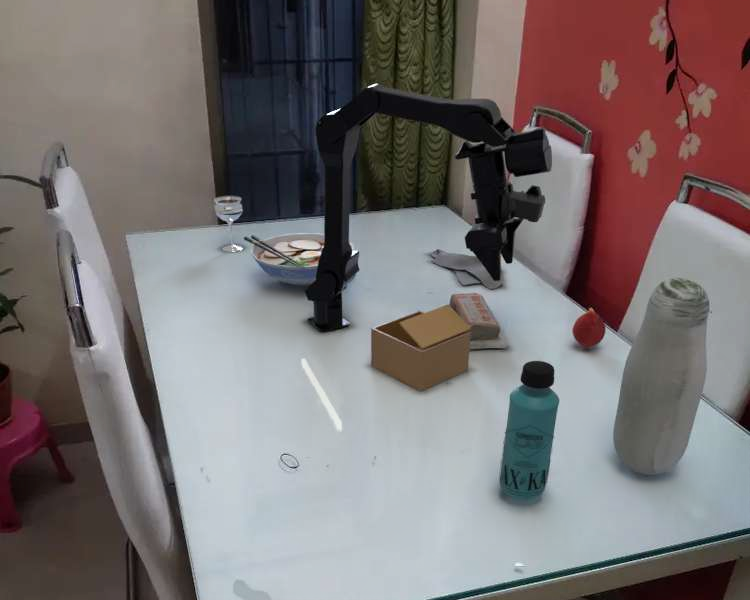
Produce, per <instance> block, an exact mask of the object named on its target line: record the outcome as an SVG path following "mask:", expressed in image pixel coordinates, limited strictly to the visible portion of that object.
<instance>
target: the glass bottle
mask: <svg viewBox="0 0 750 600" xmlns="http://www.w3.org/2000/svg"><path fill="white" fill-rule="evenodd" d="M709 313H710V299H709V296H708V294H707V292H706V290H705V289H704V287H702V286H701V285H700V284H699V283H697V282H694V281H692V280H689V279H686V278H683V277H673V278H669V279H666V280H664V281H662V282H660V283H659V284H657V285H656V287H655V288H654V290H653V291H652V292H651V294H650V297H649V298H648V302H647V305H646V309H645V313H644V315H643V316H644V317H643V320H642V323H641V326H640V328H639V330H638V333H637V334H636V337H635V339H634V340H633V342H632V345H631V347H630V349H629V351H628V355H627V357H626V360H625V363H624V367H623V371H622V377H621V383H620V390H619V395H618V402H617V409H616V412H615V413H616V414H615V419H614V423H613V424H614V425H613V432H612V439H613V442H612V443H613V447H614V450H615V453H616V455H617V457H618V458H619V460H620V461H621V463H622V464H624V465H625V467H627V468H628V469H630V470H632V471H634V472H636V473H638V474H641V475H644V476H646V475H647V476H656V475H660V474H664V473H667V472H669V471H672V469H674V468H675V467H676V466H677V464H678V463H679V462H680V461H681V459H682V458H683V456H684V454H685V452H686V450H687V448H688V445H689V442H690V439H691V435H692V431H693V427H694V423H695V421H696V417H697V412H698V409H699V405H700V402H701V399H702V394H703V391H704V386H705V382H706V378H707V365H708V359H707V358H708V357H707V356H708V355H707V331H708V330H707V327H708V317H709Z"/></svg>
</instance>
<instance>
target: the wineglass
mask: <svg viewBox="0 0 750 600" xmlns="http://www.w3.org/2000/svg"><path fill="white" fill-rule="evenodd" d="M213 202H214V203H215V204H214V212H215V214H216V216H217V217H218V218H219V219H220V220H222V221H225V222H226V223H227V224H228V230H229V236H230V245H226V246H224V247H222V251H224V252H228V253H229V252H231V253H232V252H233V253H235V252H239V251H242V250H243V249H244V248H243V246H241V245H239V244H234V238H233V237H234V236H233V223H234V221H237V220H238V219H239V218H240V217H241V215H242V214H243V211H244V209H243V208H244V207H243V204H242V203H241V202H242V197H240V196H237V195H236V196H235V195H223V196H218V197H215V198H214V199H213Z"/></svg>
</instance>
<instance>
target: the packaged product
mask: <svg viewBox="0 0 750 600" xmlns="http://www.w3.org/2000/svg"><path fill="white" fill-rule="evenodd" d="M449 300H450V301H449V302H448V303H449V304H448V305H449V306H450V307H451V308H452V309H453V310H454V311H455V312H456V313H457V314H458V315H459V316H460V317H461V318H462V319H463V320H464V321H465V322H466V323H467V324H468V325H469V326H470V328H471V329H470V330H468V331H469V332H471V338H470V350H482V349H496V348H497V349H505V350H506V349H507V348H508V345H509V343H508V341H507V339H506V337H505V336H504V334H503V333H502V330H501V327H500V325H499V324H498V321H497V320H496V318H495V316H494V314H493V313H492V311H491V309H490V307H489V305H488V303H487V302H486V299H485V298H484V296H483V295H481V294H479V293H476V292H467V293H453V294H451V295H450V298H449Z"/></svg>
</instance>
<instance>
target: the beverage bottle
mask: <svg viewBox="0 0 750 600" xmlns="http://www.w3.org/2000/svg"><path fill="white" fill-rule="evenodd" d="M520 382H521V383H522V384H521V385H519V386H517V387H516V388H514V389H513V390H512V391H511V392H510V394H509V404H508V411H507V418H506V419H507V420H506V427H505V431H504V440H503V442H502V449H501V458H500V461H501V464H500V466H499V468H500V469H499V472H498V473H499V474H498V475H499V476H498V477H499V478H498V482H499V487H500V489H501V491H502V492H503V493H504V494H505V495H507V496H508V497H510V498H512V499H516V500H523V501H526V500H534V499H537V498H539V497H540V496H542V495H543V493H544V492H545V490H546V488H547V484H548V480H549V479H548V478H549V474H550V473H549V472H550V468H551V467H550V466H551V460H552V459H551V457H552V455H553V453H552V452H553V449H554V448H553V443H554V439H555V438H556V437H554V436H555V428H556V421H557V416H558V408H559V405H560V398H559V395H558V394H557V393H556V392H555V391H554V390H553V389H552V388H551V387H552V386H553V385H554V384H555V367H554V366H553V365H552V364H551V363H549V362H547V361H542V360H531V361H527V362H525V363H524V364H523V366H522V370H521V375H520Z"/></svg>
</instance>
